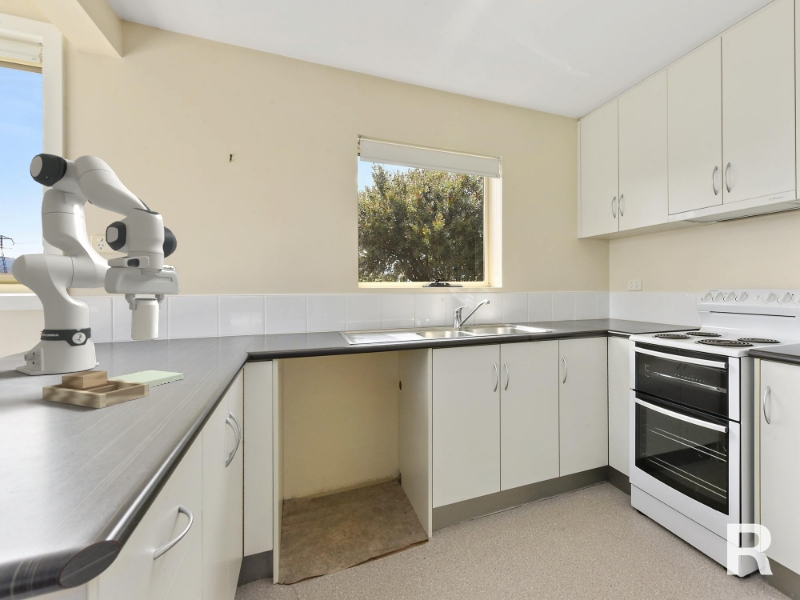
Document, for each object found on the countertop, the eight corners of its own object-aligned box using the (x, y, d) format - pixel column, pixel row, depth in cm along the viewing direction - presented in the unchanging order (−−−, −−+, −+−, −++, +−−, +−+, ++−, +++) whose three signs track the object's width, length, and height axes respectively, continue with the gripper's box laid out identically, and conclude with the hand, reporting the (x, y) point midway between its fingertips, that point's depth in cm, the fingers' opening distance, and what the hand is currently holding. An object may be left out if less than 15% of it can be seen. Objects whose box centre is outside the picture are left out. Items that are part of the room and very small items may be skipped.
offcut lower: (60, 399, 87) (60, 387, 87) (92, 392, 93) (93, 381, 93) (76, 401, 85) (76, 389, 85) (108, 394, 91) (108, 383, 91)
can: (144, 341, 100) (145, 300, 99) (125, 339, 101) (126, 298, 100) (163, 338, 106) (164, 299, 106) (145, 336, 107) (146, 297, 107)
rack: (42, 399, 85) (42, 387, 85) (94, 387, 96) (94, 377, 96) (100, 408, 79) (100, 395, 79) (149, 395, 90) (149, 383, 90)
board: (102, 385, 99) (102, 379, 99) (150, 375, 112) (150, 369, 112) (137, 390, 94) (137, 383, 94) (183, 379, 108) (183, 373, 108)
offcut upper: (61, 388, 86) (61, 376, 86) (87, 381, 93) (87, 370, 93) (82, 388, 86) (83, 376, 86) (107, 382, 92) (107, 371, 92)
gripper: (170, 266, 114) (169, 308, 114) (100, 259, 94) (100, 310, 94) (185, 266, 112) (184, 309, 112) (117, 259, 92) (116, 311, 93)
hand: (145, 309), depth 103 cm, fingers closed on can, 5 cm apart
